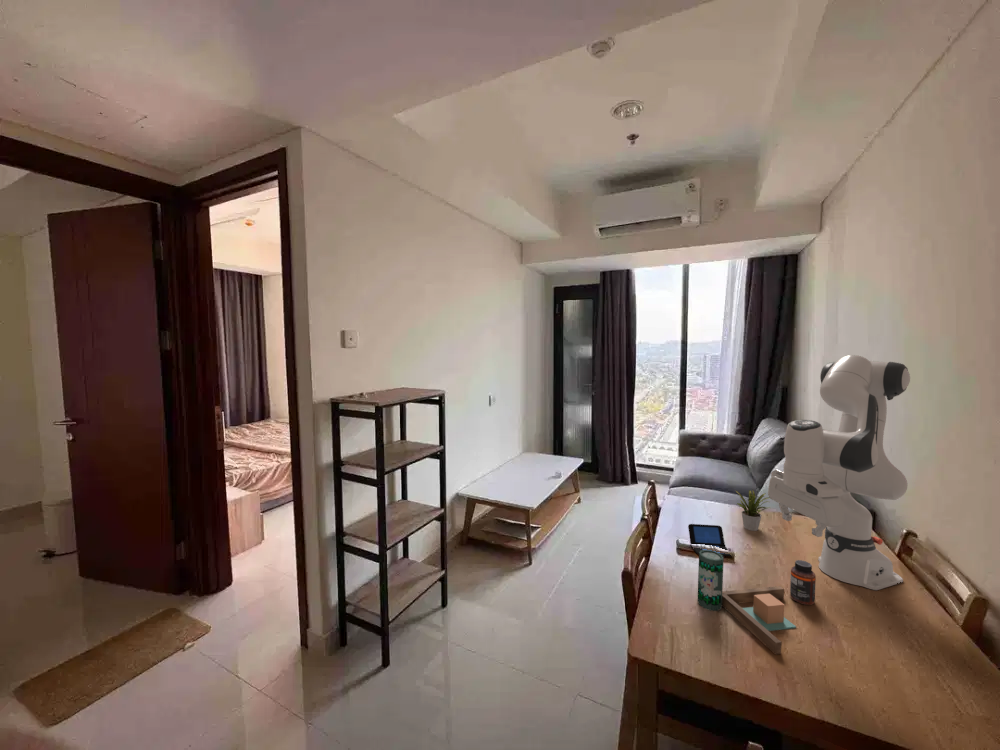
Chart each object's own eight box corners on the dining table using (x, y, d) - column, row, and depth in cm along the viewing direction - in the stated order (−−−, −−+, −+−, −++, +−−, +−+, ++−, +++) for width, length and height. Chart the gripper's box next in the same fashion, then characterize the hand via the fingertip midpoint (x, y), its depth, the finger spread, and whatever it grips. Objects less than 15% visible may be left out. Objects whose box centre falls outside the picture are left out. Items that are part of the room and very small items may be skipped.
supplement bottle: (809, 595, 121) (811, 560, 120) (818, 607, 115) (820, 570, 115) (786, 592, 123) (788, 556, 122) (793, 603, 117) (795, 566, 116)
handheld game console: (697, 556, 145) (698, 536, 144) (686, 541, 155) (687, 523, 155) (733, 558, 143) (734, 538, 143) (720, 543, 154) (721, 525, 153)
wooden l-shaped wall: (779, 595, 121) (780, 586, 121) (848, 645, 101) (848, 634, 100) (717, 601, 118) (718, 591, 118) (775, 654, 98) (776, 642, 97)
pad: (769, 606, 116) (769, 605, 116) (796, 627, 107) (796, 626, 107) (741, 609, 114) (741, 608, 114) (766, 631, 106) (766, 629, 106)
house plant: (782, 537, 158) (784, 497, 157) (747, 537, 159) (749, 497, 158) (759, 522, 173) (761, 485, 172) (727, 521, 173) (729, 485, 172)
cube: (753, 611, 113) (753, 595, 112) (768, 610, 114) (769, 593, 113) (767, 623, 108) (768, 606, 108) (783, 622, 109) (784, 604, 108)
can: (695, 605, 116) (697, 555, 116) (700, 595, 121) (702, 547, 120) (718, 613, 113) (720, 562, 112) (723, 603, 117) (725, 554, 116)
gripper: (762, 468, 119) (761, 512, 121) (827, 494, 99) (825, 547, 100) (781, 466, 120) (780, 510, 121) (849, 491, 100) (847, 544, 101)
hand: (801, 527), depth 111 cm, fingers open, 8 cm apart
